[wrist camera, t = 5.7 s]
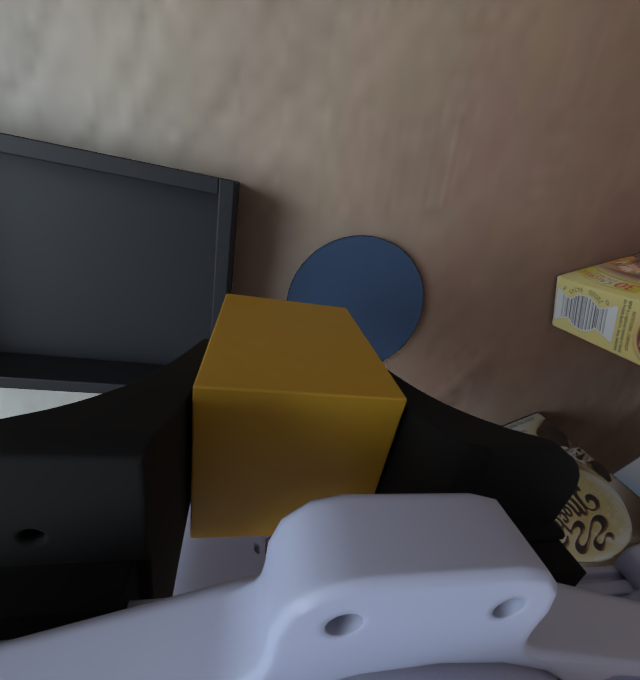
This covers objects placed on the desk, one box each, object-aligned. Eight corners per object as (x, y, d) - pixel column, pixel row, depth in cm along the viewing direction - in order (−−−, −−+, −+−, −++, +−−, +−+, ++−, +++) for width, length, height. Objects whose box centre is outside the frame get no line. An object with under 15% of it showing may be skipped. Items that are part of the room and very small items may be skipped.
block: (346, 307, 12) (408, 399, 7) (325, 402, 14) (361, 532, 9) (226, 293, 11) (192, 386, 6) (220, 396, 13) (189, 539, 8)
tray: (239, 182, 17) (235, 181, 14) (225, 375, 21) (219, 400, 19) (-136, 104, 13) (-233, 85, 11) (-55, 354, 18) (-109, 381, 16)
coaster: (441, 318, 22) (444, 320, 22) (335, 388, 23) (336, 391, 23) (380, 203, 18) (383, 203, 18) (256, 293, 19) (256, 296, 19)
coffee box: (539, 408, 28) (837, 650, 13) (541, 456, 30) (788, 697, 16) (440, 448, 28) (629, 728, 13) (452, 492, 31) (617, 761, 16)
